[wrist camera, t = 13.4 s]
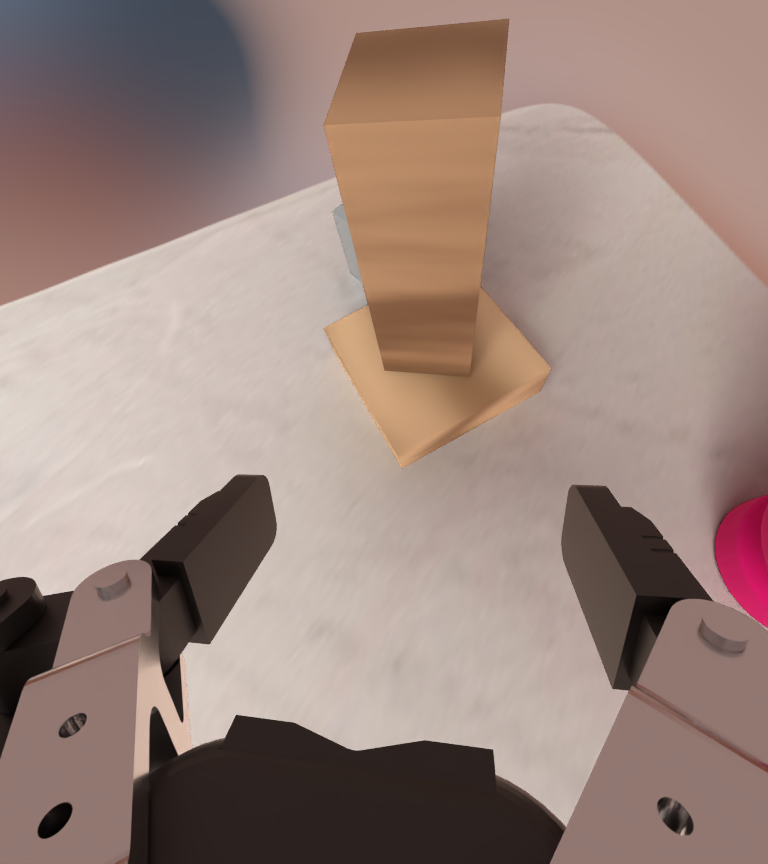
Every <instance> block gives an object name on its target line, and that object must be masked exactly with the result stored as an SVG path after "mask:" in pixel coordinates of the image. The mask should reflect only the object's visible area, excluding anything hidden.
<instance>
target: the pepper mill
mask: <svg viewBox="0 0 768 864" xmlns="http://www.w3.org/2000/svg"><path fill="white" fill-rule="evenodd" d="M715 552H716V560H717V565H718V568H719V570H720V573H721V575H722V578H723V580H724V583H725V585H726V586H727V588H728V589H729V591H730V593H731V594H732V595H733V597H734V598H735V599H736V600H737V602H738V603H739V604H740V605H741V606H742V607H743V608H744V609H745V610H746V611H747V612H748V613H749V614H750V615H751V616H752V617H753V618H755V619H756V620H757V621H758V622H760V623H761V624H763V625H764V626H766V627H767V628H768V495H765V496H761V497H758V498H754V499H751V500H748V501H746V502H744V503H742V504H740V505H738V506H737V507H735V508H733V509H732V510H731V511H730V512H729V513H728V514H727V515H726V516H725V518H724V520H723V521H722V523H721V525H720V526H719V529H718V532H717V536H716V542H715Z"/></svg>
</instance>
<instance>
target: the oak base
mask: <svg viewBox="0 0 768 864" xmlns="http://www.w3.org/2000/svg"><path fill="white" fill-rule="evenodd" d="M324 330H325V333H326V335H327V337H328V339H329V341H330V343H331V346H332V348H333V350H334V352H335V354H336V356H337V357H338V359H339V361H340V363H341V364H342V366H343V368H344V369H345V371H346V373H347V375H348V376H349V378H350V380H351V381H352V383H353V385H354V387H355V388H356V390H357V392H358V393H359V395H360V397H361V399H362V400H363V402H364V404H365V405H366V407H367V409H368V411H369V412H370V414H371V416H372V418H373V419H374V421H375V423H376V424H377V426H378V428H379V430H380V431H381V433H382V435H383V436H384V438H385V440H386V442H387V443H388V445H389V447H390V448H391V450H392V452H393V454H394V455H395V457H396V459H397V461H398V462H399V464H400V466H401V467H402V468H404V467H406V466H407V465H409V464H411V463H413V462H414V461H416V460H418V459H420V458H422V457H423V456H425V455H427V454H429V453H431V452H432V451H434V450H436V449H438V448H439V447H441V446H443V445H445V444H447V443H448V442H450V441H452V440H454V439H456V438H457V437H459V436H461V435H463V434H464V433H466V432H468V431H470V430H472V429H473V428H475V427H477V426H479V425H481V424H482V423H484V422H486V421H488V420H489V419H491V418H493V417H495V416H497V415H498V414H500V413H502V412H504V411H506V410H507V409H509V408H511V407H513V406H514V405H516V404H518V403H520V402H522V401H523V400H525V399H527V398H529V397H531V396H532V395H534V394H536V393H538V392H539V391H541V389H542V386H543V384H544V382H545V380H546V378H547V376H548V374H549V372H550V370H551V367H550V366H549V365H548V364H547V363H546V361H545V360H544V359H543V358H542V357H541V356H540V354H539V353H538V352H537V351H536V350H535V349H534V348H533V346H532V345H531V344H530V343H529V342H528V341H527V339H526V338H525V337H524V336H523V335H522V334H521V332H520V331H519V330H518V329H517V328H516V327H515V326H514V324H513V323H512V322H511V321H510V320H509V319H508V317H507V316H506V315H505V314H504V313H503V312H502V310H501V309H500V308H499V307H498V306H497V305H496V304H495V302H494V301H493V300H492V299H491V298H490V297H489V295H488V294H487V293H486V292H485V291H484V290H483V289H482V287H481V286H480V293H479V301H478V309H477V318H476V326H475V334H474V343H473V351H472V359H471V368H470V376H469V377H465V376H452V375H438V374H424V373H410V372H396V371H384V367H383V363H382V359H381V355H380V351H379V347H378V343H377V339H376V335H375V330H374V326H373V322H372V318H371V314H370V310H369V306H368V305H367V306H365V307H363V308H361V309H359V310H357V311H356V312H354V313H352V314H350V315H348V316H346V317H344V318H342V319H340V320H339V321H337V322H335V323H333V324H331V325H329V326H327V327H325V328H324Z"/></svg>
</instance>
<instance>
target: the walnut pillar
mask: <svg viewBox="0 0 768 864" xmlns="http://www.w3.org/2000/svg"><path fill="white" fill-rule="evenodd" d="M508 26H509V19H502V20H492V21H481V22H470V23H460V24H449V25H439V26H428V27H417V28H407V29H396V30H385V31H375V32H364V33H356V35H355V38H354V41H353V44H352V47H351V49H350V52H349V55H348V58H347V61H346V63H345V66H344V69H343V72H342V75H341V78H340V80H339V83H338V86H337V89H336V91H335V94H334V97H333V100H332V103H331V106H330V109H329V111H328V114H327V117H326V119H325V123H324V129H325V133H326V137H327V141H328V145H329V149H330V153H331V157H332V161H333V166H334V170H335V173H336V178H337V182H338V186H339V190H340V194H341V198H342V202H343V206H344V210H345V214H346V218H347V222H348V226H349V230H350V234H351V238H352V242H353V246H354V250H355V254H356V258H357V262H358V266H359V270H360V274H361V278H362V282H363V286H364V290H365V294H366V298H367V302H368V306H369V310H370V314H371V318H372V322H373V326H374V330H375V335H376V339H377V343H378V347H379V351H380V355H381V359H382V363H383V367H384V371H396V372H410V373H424V374H438V375H452V376H465V377H469V376H470V368H471V359H472V351H473V343H474V334H475V326H476V318H477V309H478V301H479V293H480V284H481V276H482V268H483V260H484V251H485V243H486V235H487V226H488V218H489V210H490V201H491V193H492V185H493V176H494V168H495V160H496V151H497V143H498V135H499V127H500V118H501V108H502V96H503V85H504V73H505V62H506V50H507V38H508Z"/></svg>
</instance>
